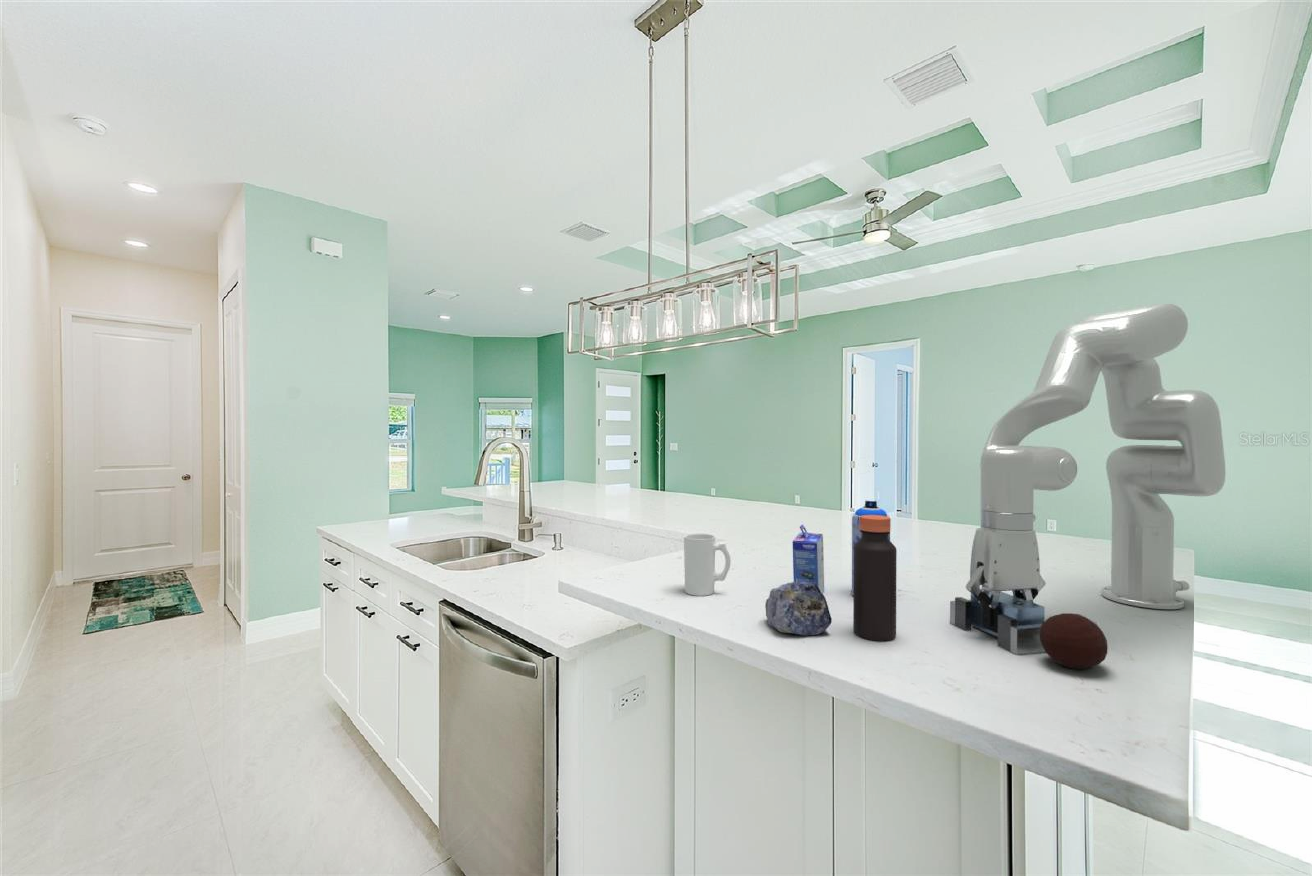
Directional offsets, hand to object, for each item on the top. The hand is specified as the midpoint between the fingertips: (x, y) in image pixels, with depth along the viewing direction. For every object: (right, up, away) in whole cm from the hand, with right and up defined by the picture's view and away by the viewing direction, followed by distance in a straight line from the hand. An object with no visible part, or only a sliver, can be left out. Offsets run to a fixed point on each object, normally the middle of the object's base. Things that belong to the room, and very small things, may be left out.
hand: (1005, 627), depth 94 cm
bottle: (-22, -2, +1) cm, 22 cm away
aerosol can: (-14, -1, +23) cm, 27 cm away
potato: (+2, -2, -12) cm, 12 cm away
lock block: (0, -1, 0) cm, 1 cm away
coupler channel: (+3, -1, 0) cm, 3 cm away
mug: (-48, -1, +25) cm, 54 cm away
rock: (-35, -2, +4) cm, 35 cm away
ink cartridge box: (-27, -1, +24) cm, 36 cm away
